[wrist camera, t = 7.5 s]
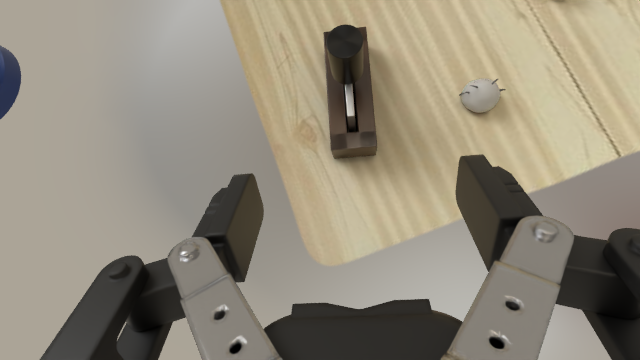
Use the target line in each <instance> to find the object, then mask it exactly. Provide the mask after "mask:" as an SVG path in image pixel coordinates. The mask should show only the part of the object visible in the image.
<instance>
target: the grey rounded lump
mask: <svg viewBox="0 0 640 360" xmlns="http://www.w3.org/2000/svg"><path fill="white" fill-rule="evenodd" d="M497 80H498V79H496V80H495V81H492V80H490V79H477V80H473V81H471V82H469V83H468V84H466V86H465V87H464V89H463V91H462V93H461V94H460V95H461V98H462V103H463V105H464V106H465V107H466V108H467V109H469V110H471V111H473V112H477V113H480V112H486V111H489V110H491V109H492V108H493V107H494V106H495V105H496V104H497V102H498V100H499V98H500V91H503V90H505V89H500V90H499V87H498V85H497V84H496V83H495V82H496V81H497ZM460 95H459V96H460Z"/></svg>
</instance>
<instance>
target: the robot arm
mask: <svg viewBox="0 0 640 360" xmlns="http://www.w3.org/2000/svg"><path fill="white" fill-rule="evenodd" d="M456 200H457V204H458V207H459V209H460V211H461V214H462V216H463V218H464V220H465V222H466V224H467V226H468V229H469V231H470V233H471V235H472V237H473V240H474V242H475V244H476V246H477V248H478V250H479V253H480V255H481V257H482V259H483V261H484V263H485V265H486V268H487V270H488V272H489V273H488V275H487V277H486V279H485V281H484V282H483V284H482V286H481V288H480V290H479V292H478V294H477V296H476V298H475V300H474V302H473V304H472V306H471V307H470V310H469V311H468V313H467V315H466V317H465V319H464V321H463V322H462V321H460V320H458V319H456V318H454V317H452V316H450V315H447V314H445V313H442V312H438V311H434V310H431V306H430V302H429V299H417V300H416V299H415V300H394V301H390V302H386V303H383V304H379V305H376V306H372V307H368V308H364V309H353V308H348V307H344V306H339V305H333V304H329V303H306V304H293V306H292V314H291V315H289V316H286V317H283V318H281V319H279V320H277V321H275V322H273V323H271V324H270V325H268V326H267V327H265V328H264V329H263V328H262V326H261V325H260V323H259V321H258V319H257V318H256V316H255V314H254V313H253V311H252V309H251V308H250V306H249V304H248V303H247V301H246V299H245V298H244V296H243V294H242V293H241V291H240V289H239V287H238V286H237V284H236V282H244V281H245V278H246V275H247V271H248V268H249V264H250V261H251V258H252V254H253V251H254V247H255V244H256V240H257V237H258V234H259V230H260V227H261V224H262V220H263V212H264V210H263V203H262V200H261V196H260V193H259V190H258V186H257V182H256V179H255V177H254V175H253V174H241V175H234V176H233V177H232V179H231V181H230V184H229V185H228V187H227V188H222V189H221V190H220V191H219V192H217V193H216V194H215V195H214V196H213V198H212V200H211V202H210V204H209V207H207V209H206V211H205V214H204V215H203V217H202V219H201V221H200V223H199V225H198V227H197V228H196V230H195V232H194V234H193V236H192V238H189V239H186V240H184V241H182V242H180V243H179V244H177V245H176V246H175V247H174V248H173V249H172V250H171V251H170V253H169V255H168V258H166V259H162V260H159V261H156V262H152V263H149V264H146V265H144V263H143V262H142V260H141V259H140V258H139V257H137V256H125V257H122V258H119V259H117V260H115V261H113V262H111V263H110V264H108V265H107V266H106V267H105V268H103V269H102V271H101V272H100V273H99V274H98V276H97V277H96V279H95V280H94V282H93V283H92V285H91V286H90V287H89V289H88V290H87V292H86V293H85V295H84V296H83V298H82V299H81V301H80V302H79V303H78V305H77V306H76V308H75V309H74V311H73V312H72V314H71V315H70V316H69V318H68V319H67V321H66V322H65V324H64V325H63V327H62V328H61V330H60V331H59V333H58V334H57V335H56V337H55V339H54V340H53V341H52V343H51V344H50V346H49V347H48V348H47V350H46V351H45V353H44V354H43V356H42V357H41V359H40V360H158V358H159V356H160V353H161V351H162V348H163V345H164V343H165V340H166V338H167V335H168V333H169V330H170V328H171V325H172V323H173V321H176V320H179V319H182V318H185V317H186V318H187V321H188V323H189V326H190V329H191V331H192V334H193V337H194V339H195V342H196V345H197V347H198V350H199V353H200V355H201V358H202V360H537V359H538V356H539V353H540V350H541V346H542V344H543V340H544V337H545V334H546V331H547V328H548V325H549V322H550V318H551V315H552V312H553V309H554V306H555V304H559V305H563V306H568V307H573V308H577V309H581V310H582V311H583V312H584V314H585V316H586V317H587V319H588V321H589V322H590V324H591V326H592V327H593V329H594V331H595V332H596V334H597V336H598V337H599V339H600V341H601V342H602V344H603V346H604V347H605V349H606V350H607V352H608V354H609V356H610V357H611V359H612V360H640V230H639V229H632V228H623V229H618V230H615V231H613V232H612V233H611V235H610V236H609V239H608V241H607V240H601V239H593V238H587V237H581V236H576V235H573V232H572V231H571V230H570V229H569V228H568V227H567V226H566V225H565V224H563V223H561V222H560V221H557V220H555V219H553V218H549V217H545V216H543V215H542V213H541V212H540V211H539V209H538V208H537V207H536V206H535V204H534V203H533V202H532V200H531V199H530V198H529V196H528V195H527V194H526V193H525V192H524V190H523V189H522V187H521V186H520V185H518V182H517V181H516V180H515V178H514V177H513V176H512V174H511V173H509V172H507V171H506V170H504V169H503V168H501V167H499V166H498V167H492V166H491V165H490V163H489V162H488V160H487V159H486V157H485V156H484V155H470V156H461V157H460V160H459V167H458V175H457V184H456ZM125 322H127V323H126V325H125V327H124V329H123V331H122V333H121V335H120V337H119V339H118V341H117V338H118V335H119V333H120V331H121V329H122V327H123V325H124V323H125Z"/></svg>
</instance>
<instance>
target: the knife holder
mask: <svg viewBox="0 0 640 360" xmlns="http://www.w3.org/2000/svg"><path fill="white" fill-rule="evenodd" d="M357 29H358V30H359V31H360V32H361V34H362V36H363V74H362V76H361V77H360V79H359V80H358V81H356V82H355V83H354V88H355V100H356V112H357V124H358V132H350V133H348V129H347V116H346V103H345V89H344V84H341V83H339V82H337V81H336V80H335V79H334V78H333V76H332V72H331V67H330V62H329V57H328V52H327V47H326V40H327V37H328V35H329V33H330V32H331V31H330V32H324V48H325V63H326V78H327V94H328V109H329V125H330V140H331V151H332V154H333V156H334V158H347V157H358V156H370V155H376V150H377V140H376V129H375V118H374V107H373V97H372V86H371V75H370V64H369V53H368V42H367V31H366V27H360V28H357Z"/></svg>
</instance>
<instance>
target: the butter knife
mask: <svg viewBox="0 0 640 360" xmlns="http://www.w3.org/2000/svg"><path fill="white" fill-rule="evenodd" d="M326 47H327V52H328V57H329V62H330V67H331V72H332V76H333V78H334V79H335V80H336V81H337V82H339V83H341V84H345V94H346V107H347V118H348V126H349V133H350V132H356V125H355V112H354V100H353V87H352V83H355V82H356V81H358V80H359V79H360V77H361V76H362V74H363V36H362V34H361V32H360V31H359V30H358V29H357V28H356V27H354V26H351V25H340V26H338V27H336V28H334V29H333V30H332V31H331V32H330V33H329V35H328V37H327V40H326Z"/></svg>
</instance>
